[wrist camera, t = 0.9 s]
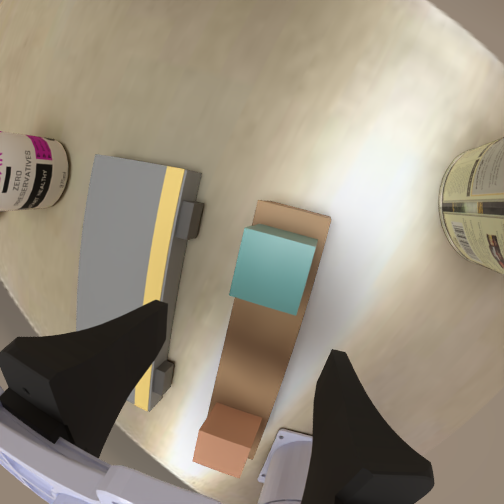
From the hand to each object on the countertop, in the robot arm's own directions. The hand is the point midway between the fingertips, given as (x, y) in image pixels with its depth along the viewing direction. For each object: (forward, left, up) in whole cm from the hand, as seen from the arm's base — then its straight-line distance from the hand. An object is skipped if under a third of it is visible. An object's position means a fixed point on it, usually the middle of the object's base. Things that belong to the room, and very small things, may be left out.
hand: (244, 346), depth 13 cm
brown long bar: (-5, 0, -14) cm, 15 cm away
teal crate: (+2, 0, -9) cm, 9 cm away
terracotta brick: (-13, 0, -9) cm, 16 cm away
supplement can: (+4, +29, -14) cm, 33 cm away
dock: (-5, +14, -14) cm, 21 cm away
